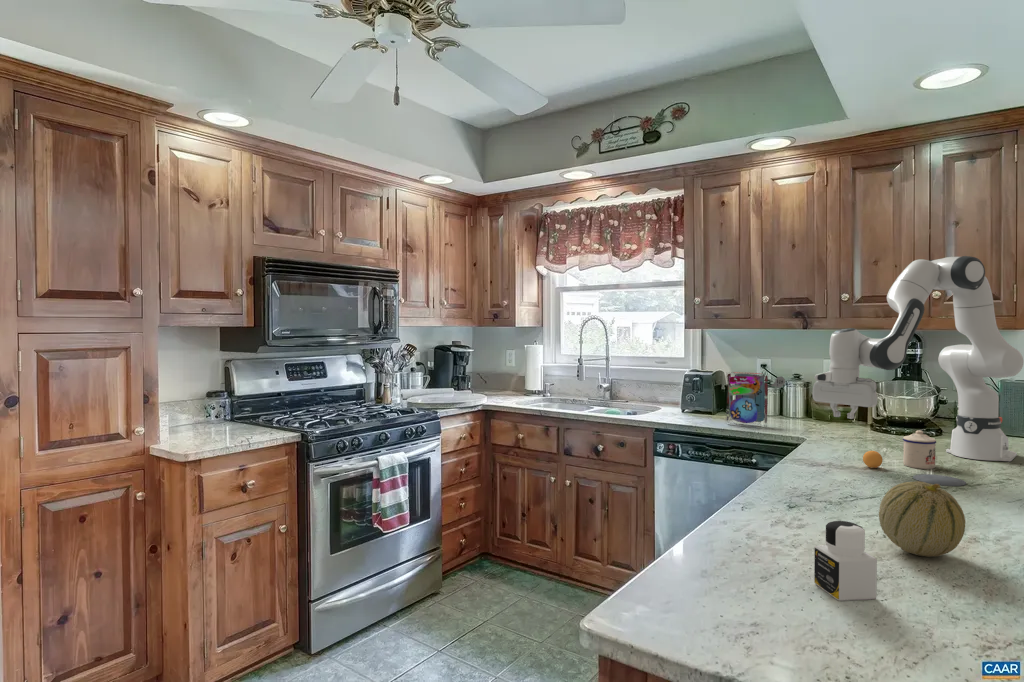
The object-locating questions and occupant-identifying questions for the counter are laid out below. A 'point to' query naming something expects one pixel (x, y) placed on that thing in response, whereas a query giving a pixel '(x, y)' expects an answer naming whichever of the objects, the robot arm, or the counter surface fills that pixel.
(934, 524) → the cantaloupe
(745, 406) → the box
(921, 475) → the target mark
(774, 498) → the counter surface
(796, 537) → the counter surface
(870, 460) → the ball
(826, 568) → the medicine bottle
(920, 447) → the teacup with lid
